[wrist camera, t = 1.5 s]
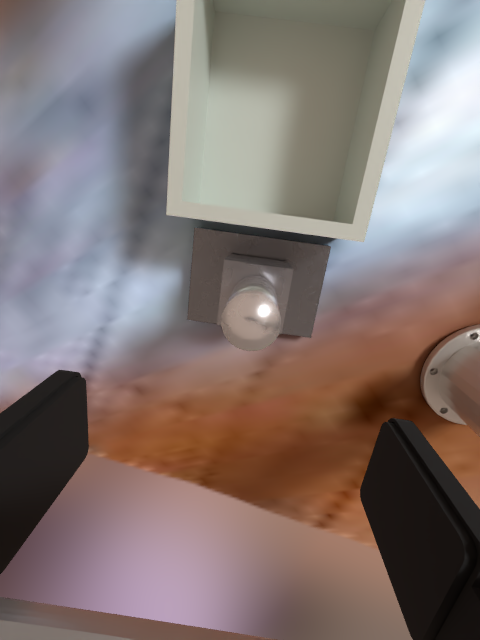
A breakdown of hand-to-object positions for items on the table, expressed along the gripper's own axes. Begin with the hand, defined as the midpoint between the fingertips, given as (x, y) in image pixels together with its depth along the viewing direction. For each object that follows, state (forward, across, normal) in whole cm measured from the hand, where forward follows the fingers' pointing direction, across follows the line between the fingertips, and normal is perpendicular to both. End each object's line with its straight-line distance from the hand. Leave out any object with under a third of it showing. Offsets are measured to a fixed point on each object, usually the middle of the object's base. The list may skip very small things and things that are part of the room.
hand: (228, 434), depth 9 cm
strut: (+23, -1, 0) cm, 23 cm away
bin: (+26, -1, -15) cm, 29 cm away
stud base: (+26, -1, 0) cm, 26 cm away
